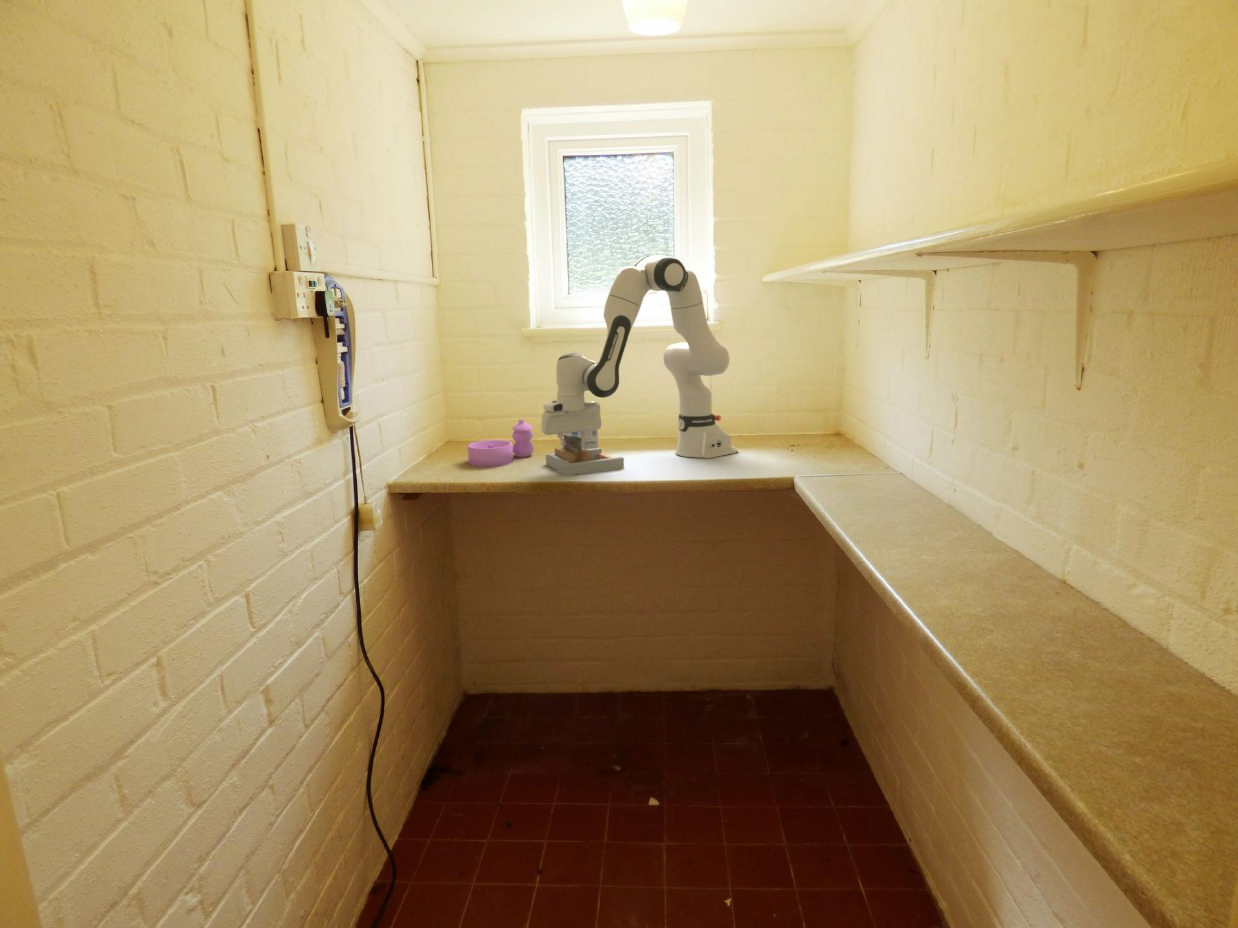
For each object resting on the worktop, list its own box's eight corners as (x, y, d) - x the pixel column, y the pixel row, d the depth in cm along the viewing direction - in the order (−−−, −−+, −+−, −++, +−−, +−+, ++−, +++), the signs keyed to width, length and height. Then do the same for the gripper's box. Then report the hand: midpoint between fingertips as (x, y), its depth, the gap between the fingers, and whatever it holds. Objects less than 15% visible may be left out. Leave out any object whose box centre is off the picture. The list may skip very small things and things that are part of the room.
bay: (599, 457, 253) (599, 446, 252) (623, 468, 237) (623, 456, 236) (546, 464, 245) (545, 452, 244) (567, 475, 228) (567, 463, 227)
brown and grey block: (577, 462, 246) (576, 432, 243) (591, 469, 235) (590, 438, 233) (555, 465, 242) (554, 434, 240) (569, 472, 232) (568, 440, 230)
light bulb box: (591, 451, 265) (590, 422, 262) (599, 454, 259) (598, 424, 256) (564, 454, 260) (563, 424, 258) (571, 457, 254) (570, 427, 252)
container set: (484, 469, 240) (481, 430, 237) (460, 462, 251) (457, 425, 248) (544, 457, 256) (542, 420, 253) (520, 451, 267) (518, 416, 264)
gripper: (595, 399, 241) (597, 440, 244) (538, 405, 232) (540, 447, 236) (604, 402, 236) (605, 443, 239) (545, 407, 227) (547, 450, 230)
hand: (572, 445), depth 237 cm, fingers open, 5 cm apart
